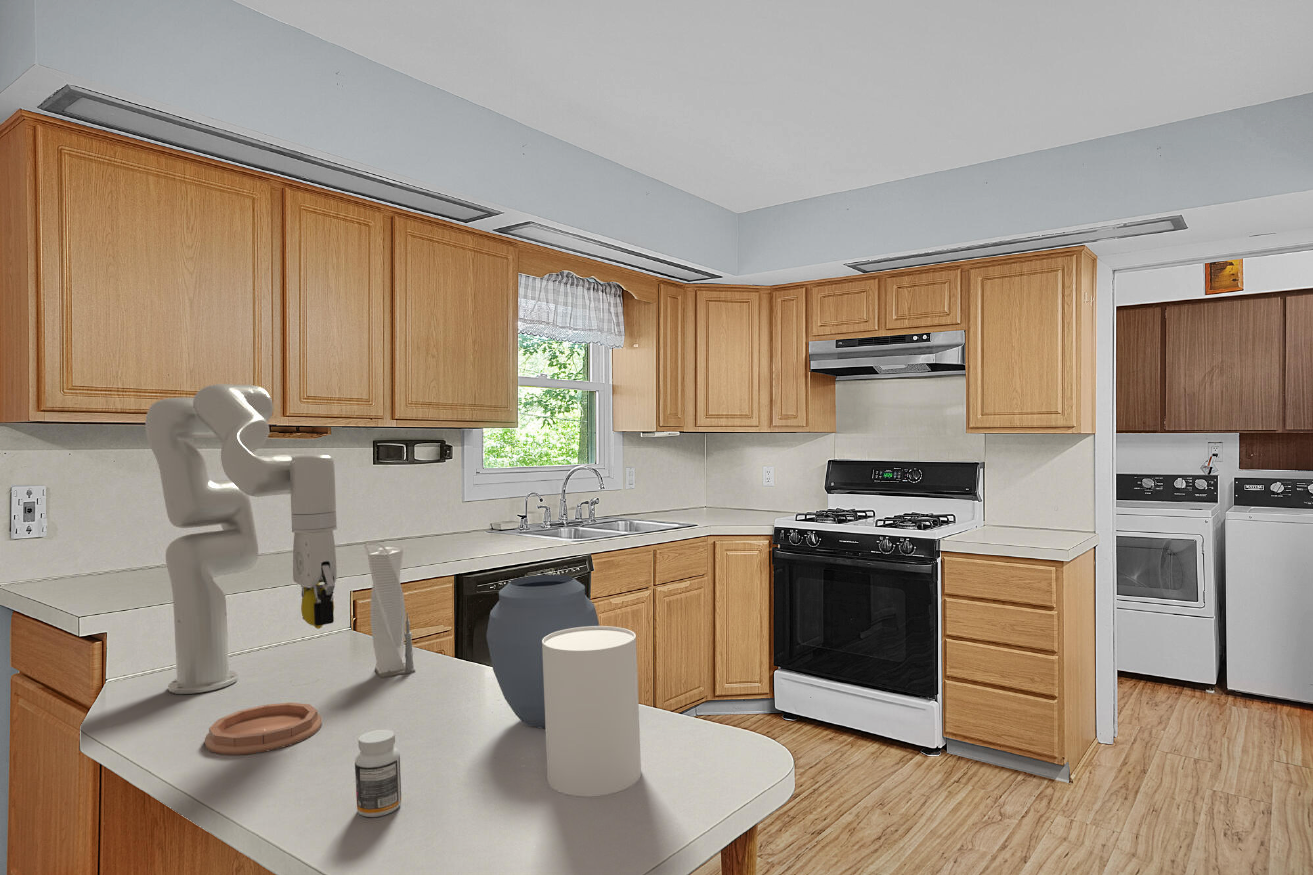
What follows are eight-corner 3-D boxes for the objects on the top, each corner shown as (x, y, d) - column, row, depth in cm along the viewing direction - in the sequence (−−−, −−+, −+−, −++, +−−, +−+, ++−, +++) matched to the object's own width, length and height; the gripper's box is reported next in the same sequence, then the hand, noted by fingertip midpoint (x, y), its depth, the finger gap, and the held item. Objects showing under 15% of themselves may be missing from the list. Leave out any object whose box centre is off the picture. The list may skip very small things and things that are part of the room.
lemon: (323, 632, 144) (322, 588, 144) (295, 632, 145) (293, 588, 145) (341, 625, 149) (339, 582, 149) (313, 624, 150) (312, 582, 150)
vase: (621, 726, 135) (615, 582, 135) (507, 751, 126) (501, 597, 126) (580, 694, 153) (575, 566, 152) (477, 713, 144) (472, 578, 144)
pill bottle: (363, 800, 111) (360, 729, 111) (406, 797, 112) (403, 726, 112) (351, 820, 105) (348, 745, 105) (396, 817, 106) (393, 742, 106)
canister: (555, 757, 124) (550, 627, 123) (643, 754, 123) (638, 624, 123) (540, 797, 110) (534, 652, 110) (638, 795, 110) (632, 649, 109)
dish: (195, 733, 139) (194, 719, 139) (304, 707, 151) (303, 694, 151) (218, 764, 126) (217, 748, 126) (336, 733, 137) (335, 718, 137)
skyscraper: (373, 679, 167) (368, 544, 167) (367, 669, 174) (361, 540, 174) (415, 671, 171) (409, 540, 171) (406, 662, 178) (401, 537, 178)
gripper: (277, 521, 150) (281, 617, 151) (309, 528, 138) (313, 633, 138) (319, 517, 155) (322, 610, 156) (352, 523, 143) (356, 625, 143)
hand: (318, 620), depth 147 cm, fingers closed on lemon, 5 cm apart
